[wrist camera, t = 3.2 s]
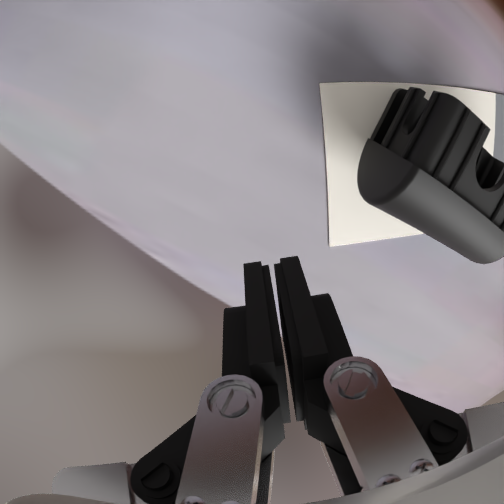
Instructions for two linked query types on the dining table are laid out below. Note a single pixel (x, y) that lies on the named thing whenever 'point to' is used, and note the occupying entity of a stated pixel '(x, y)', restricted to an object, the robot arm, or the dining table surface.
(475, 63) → the dining table surface
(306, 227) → the dining table surface
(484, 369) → the dining table surface
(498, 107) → the mat
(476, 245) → the end cap
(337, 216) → the board
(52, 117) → the dining table surface
